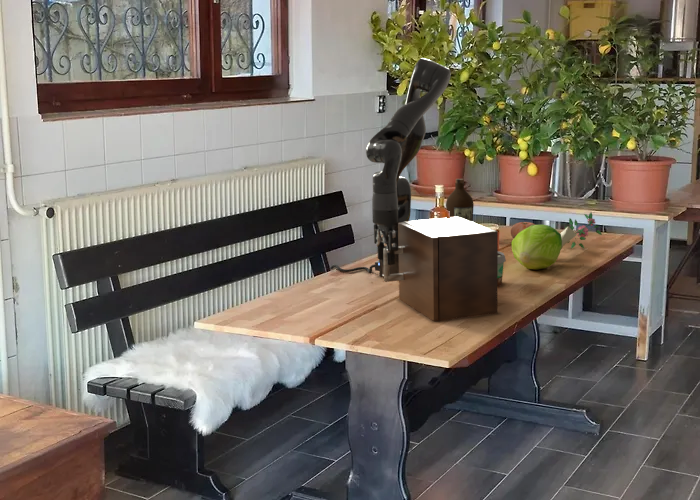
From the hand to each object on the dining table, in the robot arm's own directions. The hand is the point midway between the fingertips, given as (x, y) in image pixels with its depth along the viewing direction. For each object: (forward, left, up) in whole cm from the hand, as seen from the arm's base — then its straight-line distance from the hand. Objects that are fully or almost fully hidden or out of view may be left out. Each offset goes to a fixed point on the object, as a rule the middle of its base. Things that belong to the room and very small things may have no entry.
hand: (386, 261), depth 277 cm
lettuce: (+29, +58, -13) cm, 66 cm away
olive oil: (-10, +91, -13) cm, 93 cm away
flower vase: (+33, +88, -13) cm, 95 cm away
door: (+9, -5, -13) cm, 17 cm away
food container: (+23, +33, -13) cm, 43 cm away
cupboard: (+18, +4, -13) cm, 23 cm away
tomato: (+13, +101, -13) cm, 103 cm away
